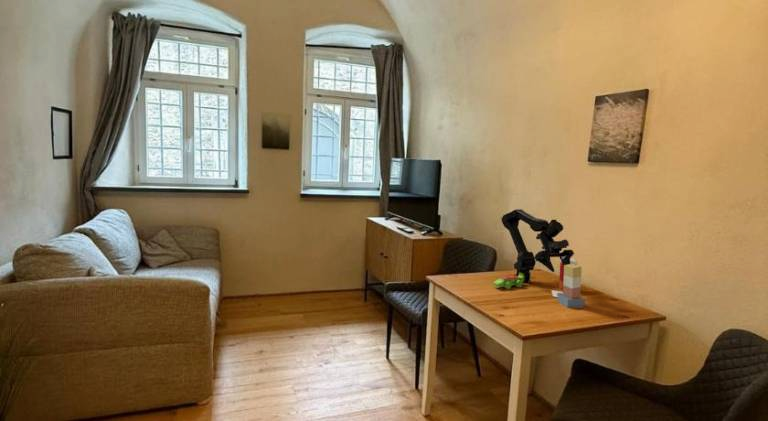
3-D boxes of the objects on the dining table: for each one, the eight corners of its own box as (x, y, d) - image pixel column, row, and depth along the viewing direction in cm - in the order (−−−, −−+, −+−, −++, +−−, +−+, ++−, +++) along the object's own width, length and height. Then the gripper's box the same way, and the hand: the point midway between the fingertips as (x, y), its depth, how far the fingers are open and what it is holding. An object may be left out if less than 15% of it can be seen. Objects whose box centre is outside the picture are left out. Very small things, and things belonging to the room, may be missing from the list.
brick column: (562, 295, 189) (564, 265, 187) (571, 293, 191) (572, 263, 189) (571, 298, 184) (573, 268, 182) (580, 296, 186) (581, 266, 184)
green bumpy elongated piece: (498, 291, 202) (500, 278, 202) (489, 286, 208) (490, 275, 207) (528, 286, 212) (529, 275, 211) (518, 282, 217) (519, 271, 217)
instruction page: (552, 296, 197) (553, 295, 197) (551, 290, 206) (551, 290, 206) (580, 300, 194) (580, 299, 194) (577, 294, 202) (578, 293, 202)
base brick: (557, 301, 192) (558, 293, 191) (574, 301, 193) (575, 293, 192) (567, 308, 184) (567, 299, 183) (584, 308, 185) (585, 299, 184)
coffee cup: (571, 286, 215) (574, 258, 213) (576, 291, 207) (580, 262, 204) (554, 285, 215) (557, 256, 213) (559, 290, 207) (562, 261, 205)
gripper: (541, 233, 193) (555, 263, 184) (573, 233, 199) (588, 261, 190) (528, 246, 201) (541, 275, 193) (560, 245, 207) (573, 273, 199)
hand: (561, 271), depth 193 cm, fingers open, 9 cm apart
